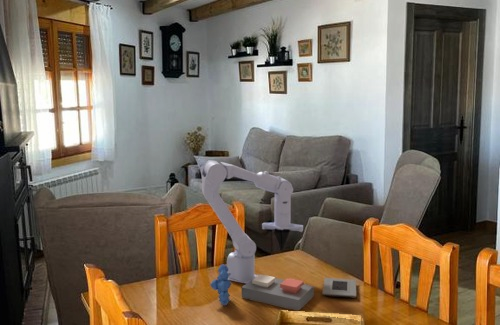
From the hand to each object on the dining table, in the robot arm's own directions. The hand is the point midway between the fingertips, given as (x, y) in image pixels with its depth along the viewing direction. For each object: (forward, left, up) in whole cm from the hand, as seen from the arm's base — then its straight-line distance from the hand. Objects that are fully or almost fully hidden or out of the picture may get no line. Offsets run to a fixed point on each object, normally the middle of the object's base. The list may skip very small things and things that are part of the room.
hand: (282, 249), depth 178 cm
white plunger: (+2, -18, -9) cm, 20 cm away
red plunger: (+12, -18, -9) cm, 23 cm away
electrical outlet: (+23, -4, -10) cm, 25 cm away
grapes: (-7, -30, -10) cm, 32 cm away
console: (+7, -18, -9) cm, 21 cm away
